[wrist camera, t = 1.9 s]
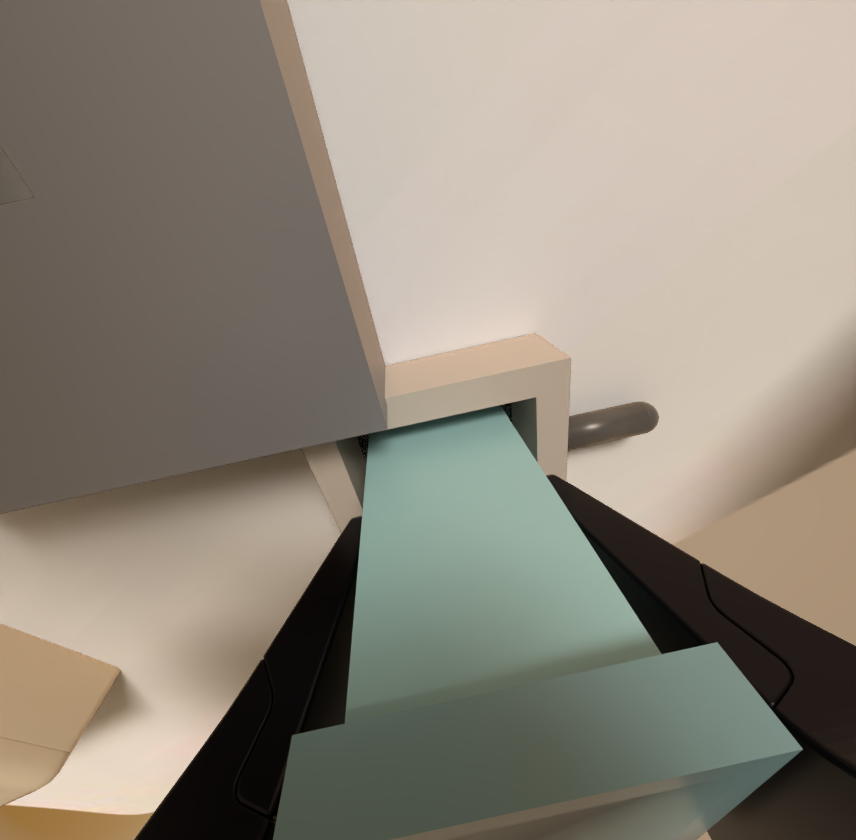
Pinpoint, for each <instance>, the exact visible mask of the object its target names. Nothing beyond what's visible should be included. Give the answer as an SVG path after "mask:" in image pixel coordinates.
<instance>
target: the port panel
mask: <svg viewBox="0 0 856 840" xmlns="http://www.w3.org/2000/svg"><path fill="white" fill-rule="evenodd" d="M0 146H1V148H2V149H3V151H4V152H5V154H6V155H7V157H8V158H9V160H10V161H11V163H12V164H13V166H14V167H15V169H16V170H17V172H18V173H19V175H20V176H21V178H22V179H23V181H24V182H25V184H26V185H27V187H28V188H29V190H30V191H31V193H32V194H33V196H34V198H29V199H25V200H20V201H15V202H11V203H6V204H2V205H0V514H2V513H6V512H11V511H15V510H20V509H24V508H29V507H34V506H38V505H43V504H47V503H52V502H57V501H61V500H66V499H70V498H75V497H80V496H84V495H89V494H93V493H98V492H102V491H107V490H112V489H116V488H121V487H125V486H130V485H135V484H139V483H144V482H148V481H153V480H157V479H162V478H167V477H171V476H176V475H180V474H185V473H190V472H194V471H199V470H203V469H208V468H212V467H217V466H222V465H226V464H231V463H235V462H240V461H245V460H249V459H254V458H258V457H263V456H267V455H272V454H277V453H281V452H286V451H290V450H295V449H300V448H304V447H309V446H313V445H318V444H322V443H327V442H332V441H336V440H341V439H345V438H350V437H355V436H359V435H364V434H368V433H373V432H377V431H382V430H387V403H386V400H385V363H384V359H383V356H382V352H381V348H380V344H379V341H378V337H377V333H376V330H375V326H374V322H373V318H372V315H371V311H370V307H369V304H368V300H367V296H366V293H365V289H364V285H363V281H362V278H361V274H360V270H359V267H358V263H357V259H356V255H355V252H354V248H353V244H352V241H351V237H350V233H349V229H348V226H347V222H346V218H345V215H344V211H343V207H342V204H341V200H340V196H339V192H338V189H337V185H336V181H335V178H334V174H333V170H332V166H331V163H330V159H329V155H328V152H327V148H326V144H325V140H324V137H323V133H322V129H321V126H320V122H319V118H318V115H317V111H316V107H315V103H314V100H313V96H312V92H311V89H310V85H309V81H308V77H307V74H306V70H305V66H304V63H303V59H302V55H301V51H300V48H299V44H298V40H297V37H296V33H295V29H294V25H293V22H292V18H291V14H290V11H289V7H288V3H287V0H0Z"/></svg>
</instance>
